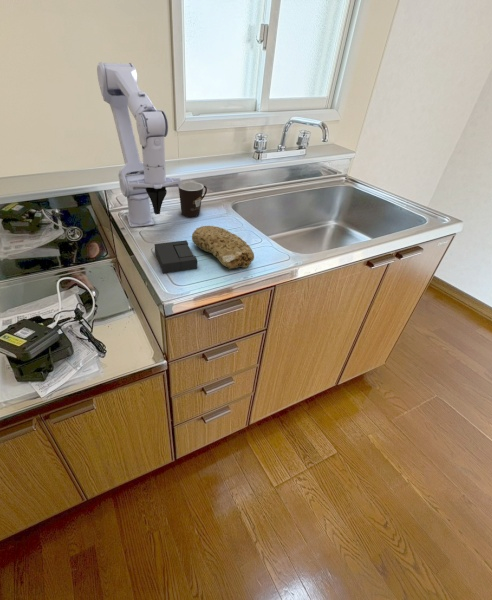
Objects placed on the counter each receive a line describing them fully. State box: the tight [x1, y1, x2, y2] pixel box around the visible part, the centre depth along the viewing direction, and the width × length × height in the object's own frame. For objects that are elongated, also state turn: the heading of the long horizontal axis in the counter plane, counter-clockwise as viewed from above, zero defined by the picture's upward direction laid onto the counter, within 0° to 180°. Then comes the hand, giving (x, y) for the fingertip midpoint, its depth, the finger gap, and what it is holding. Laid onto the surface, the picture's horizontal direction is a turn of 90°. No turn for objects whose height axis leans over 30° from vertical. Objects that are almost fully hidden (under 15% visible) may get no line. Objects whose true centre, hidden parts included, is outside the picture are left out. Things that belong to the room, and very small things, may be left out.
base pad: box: [154, 239, 198, 274], centre depth 89 cm, size 11×10×3 cm
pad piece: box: [174, 243, 195, 258], centre depth 89 cm, size 6×4×3 cm, turn 18°
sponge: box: [191, 225, 255, 270], centre depth 91 cm, size 13×8×20 cm
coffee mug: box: [178, 181, 208, 219], centre depth 112 cm, size 12×9×10 cm
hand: (156, 213), depth 92 cm, fingers closed
